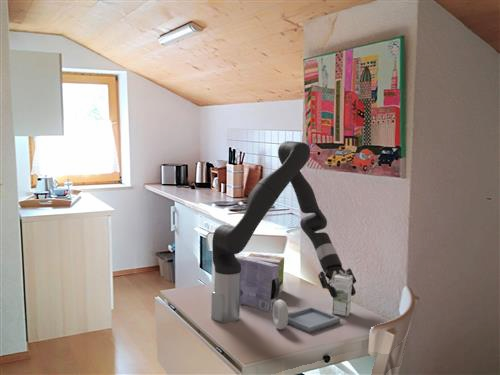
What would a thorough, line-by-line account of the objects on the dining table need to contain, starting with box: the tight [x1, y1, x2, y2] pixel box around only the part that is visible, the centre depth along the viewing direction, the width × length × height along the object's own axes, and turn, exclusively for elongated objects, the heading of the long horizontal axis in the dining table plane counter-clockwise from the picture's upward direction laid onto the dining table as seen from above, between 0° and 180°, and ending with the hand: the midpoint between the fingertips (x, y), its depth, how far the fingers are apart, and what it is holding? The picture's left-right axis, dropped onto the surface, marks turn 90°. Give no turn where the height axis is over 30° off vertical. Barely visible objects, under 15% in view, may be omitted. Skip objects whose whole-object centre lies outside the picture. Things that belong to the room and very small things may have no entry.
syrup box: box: [331, 273, 353, 317], centre depth 191 cm, size 6×6×14 cm
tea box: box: [246, 252, 285, 296], centre depth 214 cm, size 15×10×15 cm, turn 73°
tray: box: [287, 306, 341, 334], centre depth 182 cm, size 16×14×2 cm
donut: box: [272, 299, 289, 331], centre depth 175 cm, size 10×4×10 cm, turn 13°
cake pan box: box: [235, 255, 280, 313], centre depth 196 cm, size 19×5×18 cm, turn 54°
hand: (344, 296), depth 190 cm, fingers closed on syrup box, 8 cm apart
